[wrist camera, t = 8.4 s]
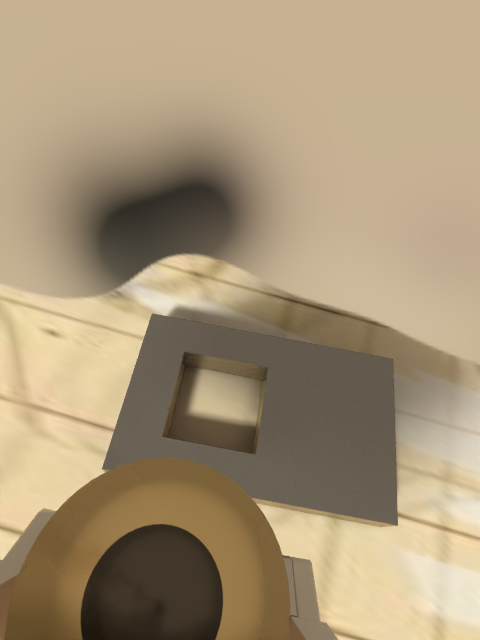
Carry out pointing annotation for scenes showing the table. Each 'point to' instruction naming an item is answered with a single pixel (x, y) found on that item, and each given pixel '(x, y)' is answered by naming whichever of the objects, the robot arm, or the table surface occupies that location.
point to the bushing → (154, 562)
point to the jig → (274, 419)
